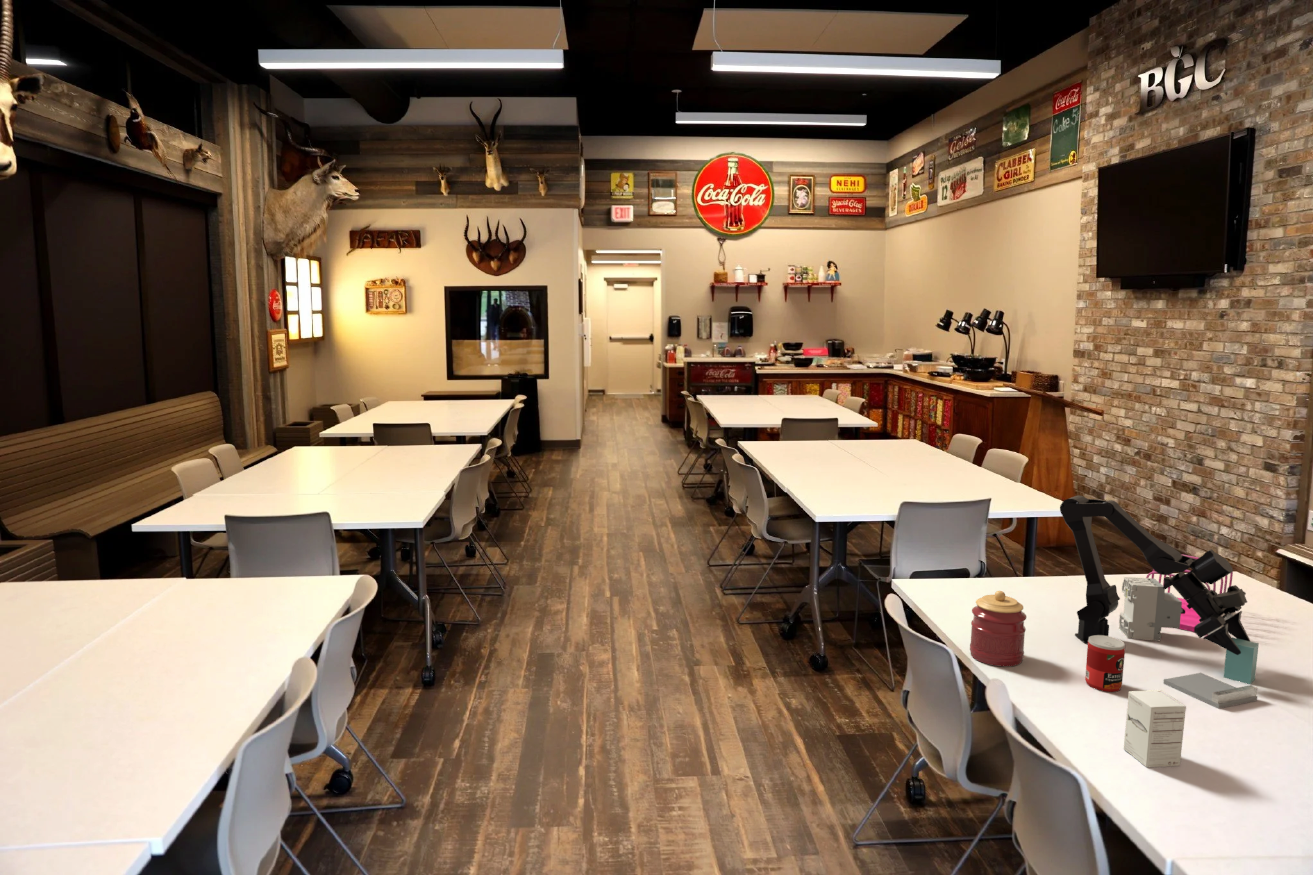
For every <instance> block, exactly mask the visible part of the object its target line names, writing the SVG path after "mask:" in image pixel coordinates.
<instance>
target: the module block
mask: <svg viewBox="0 0 1313 875" xmlns="http://www.w3.org/2000/svg"><path fill="white" fill-rule="evenodd" d="M1231 638H1232V639H1233V640H1234V642H1235V643H1236V645H1237V646H1238V648H1239V649H1240V651H1241V654H1239V655H1236V654H1234V653H1232V652H1230V651H1228V650H1227V649H1225V658H1224V669H1223V678H1224V679H1228V680H1232V681H1236V682H1239V681H1240V682H1239V683H1243V684H1246V683H1247V684H1246V685H1252V683H1253V682H1254V681H1255V679H1256V673H1257V663H1258V654H1259V642H1254V641H1251V640H1250V641H1251V642H1250V641H1246V640H1242V639H1237V638H1236V637H1234V636H1233V637H1232V636H1231Z"/></svg>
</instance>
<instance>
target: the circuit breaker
mask: <svg viewBox="0 0 1313 875" xmlns="http://www.w3.org/2000/svg"><path fill="white" fill-rule="evenodd" d="M1121 583H1122V584H1121V593H1123V597H1124V602H1123V611H1122V612H1119V619H1118V624H1119V625H1118V626H1119V627H1118V630H1119V629H1120V630H1119V631H1120V632H1121V633H1122V634H1123V636H1125V638H1126V639H1132V640H1133V639H1134V640H1144V641H1145V640H1147V641H1158V640H1160V641H1161V638H1162V634H1161V632H1162V628H1165V629H1178V628H1180V618H1181V614H1185V610H1184V609H1183V608H1182V602H1181V601H1180V600H1179V599H1178V598H1179V597H1177V596H1175V595H1174V594H1173V592H1170V593H1168V592H1166V589H1163V583H1161V584H1160V583H1159V580H1157V579H1155V578H1154V579H1152V577H1151V578H1150V577H1149V578H1146V577H1132V576H1128V577H1127V576H1123V581H1122V582H1121Z"/></svg>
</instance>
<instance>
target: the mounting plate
mask: <svg viewBox="0 0 1313 875" xmlns="http://www.w3.org/2000/svg"><path fill="white" fill-rule="evenodd" d="M1163 684H1164V685H1166V686H1168V687H1170V686H1171V688H1172V689H1175V690H1177V691H1179V692H1180V693H1184V694H1185V695H1188V696H1190V697H1192V698H1195V699H1198V700H1199V701H1202V702H1203V703H1206V704H1208V705H1210V706H1213V707H1215V708H1216V709H1224V708H1227V707H1233V706H1237V705H1243V704H1247V703H1252V702H1257V701H1258V696H1257V691H1258V687H1256V686H1254V685H1252V684H1248V685H1244V686H1240V687H1236V686H1233V685H1231V684H1229V683H1227V682H1224V681H1221V680H1219V679H1217V678H1216V677H1215V678H1214V677H1212V676H1209V675H1207V674H1205V673H1202V672H1197V673H1191V674H1185V675H1180V676H1175V677H1169V678H1164V679H1163Z"/></svg>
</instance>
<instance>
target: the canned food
mask: <svg viewBox="0 0 1313 875" xmlns="http://www.w3.org/2000/svg"><path fill="white" fill-rule="evenodd" d="M1125 654H1126V643H1125V642H1124V641H1122V640H1121V639H1118V638H1116V637H1113V636H1110V635H1108V636H1103V635H1094V636H1090V637H1089V639H1088V644H1087V650H1086V663H1085V665H1086V666H1085V677H1084V678H1085V679H1084V680H1085V683H1086V685H1088V686H1089V687H1090V688H1092V689H1094V688H1095V689H1094V690H1097V691H1100V690H1101V691H1102V692H1106V693H1107V692H1108V693H1114V692H1115V693H1116V692H1119V691H1120V690H1121V689H1122V686H1123V678H1124V666H1125V657H1126V656H1125ZM1101 691H1100V692H1101Z"/></svg>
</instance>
